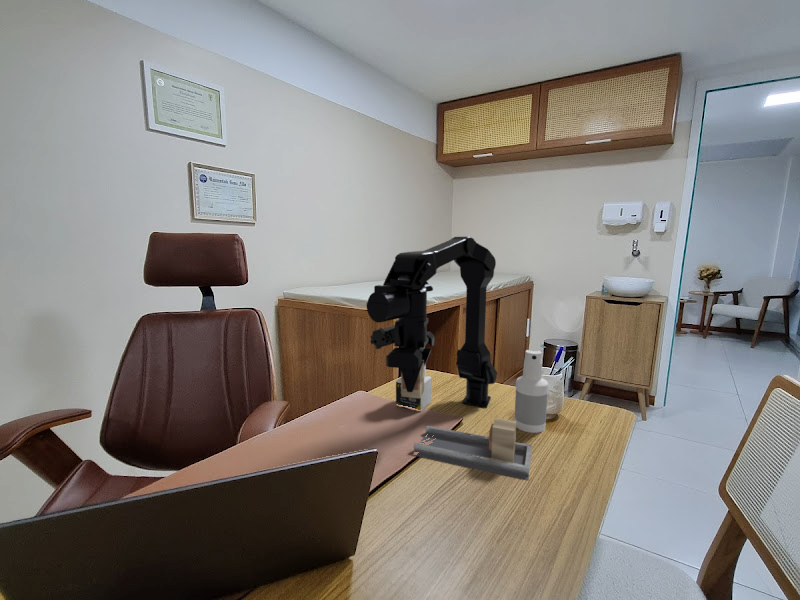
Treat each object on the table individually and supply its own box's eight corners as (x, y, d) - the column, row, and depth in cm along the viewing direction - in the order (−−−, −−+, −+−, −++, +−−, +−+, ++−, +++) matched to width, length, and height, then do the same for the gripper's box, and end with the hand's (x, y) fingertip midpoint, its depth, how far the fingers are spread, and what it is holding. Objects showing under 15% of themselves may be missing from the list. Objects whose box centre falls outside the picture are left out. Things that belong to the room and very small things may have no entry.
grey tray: (426, 432, 84) (426, 425, 84) (531, 451, 76) (531, 445, 76) (413, 451, 77) (413, 444, 76) (528, 476, 68) (529, 468, 68)
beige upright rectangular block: (491, 450, 77) (492, 417, 76) (514, 454, 75) (516, 421, 74) (488, 460, 73) (489, 426, 72) (512, 465, 72) (514, 430, 71)
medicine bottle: (395, 406, 99) (395, 362, 97) (407, 397, 105) (407, 354, 103) (420, 412, 95) (420, 366, 93) (431, 402, 101) (432, 358, 100)
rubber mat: (428, 431, 86) (428, 429, 86) (531, 451, 77) (531, 449, 77) (411, 457, 76) (411, 454, 75) (528, 482, 67) (528, 480, 67)
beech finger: (405, 389, 83) (405, 358, 82) (423, 391, 82) (424, 359, 81) (400, 397, 79) (400, 365, 78) (419, 399, 78) (419, 366, 77)
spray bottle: (515, 432, 85) (518, 355, 82) (513, 419, 92) (516, 346, 89) (547, 436, 83) (552, 357, 81) (543, 422, 90) (547, 348, 87)
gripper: (387, 305, 89) (388, 370, 91) (359, 322, 71) (361, 401, 73) (435, 307, 86) (434, 373, 88) (417, 325, 68) (417, 407, 70)
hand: (412, 387), depth 80 cm, fingers closed on beech finger, 5 cm apart
